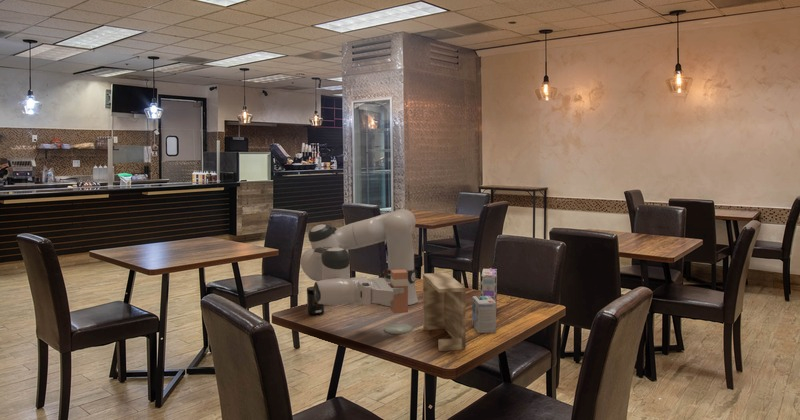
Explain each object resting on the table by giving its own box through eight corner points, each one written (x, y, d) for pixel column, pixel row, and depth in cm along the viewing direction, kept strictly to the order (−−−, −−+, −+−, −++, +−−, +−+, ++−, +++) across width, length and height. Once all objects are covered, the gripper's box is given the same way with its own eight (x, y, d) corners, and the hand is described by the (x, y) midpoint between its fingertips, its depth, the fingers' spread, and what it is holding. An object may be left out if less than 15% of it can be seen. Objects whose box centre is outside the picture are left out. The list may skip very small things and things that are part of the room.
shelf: (439, 351, 181) (438, 289, 179) (423, 329, 204) (422, 273, 202) (465, 349, 183) (465, 287, 181) (446, 327, 206) (446, 272, 204)
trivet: (378, 331, 202) (378, 329, 202) (392, 324, 211) (392, 322, 211) (403, 335, 197) (403, 333, 197) (416, 327, 206) (416, 325, 206)
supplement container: (320, 310, 230) (319, 285, 229) (327, 314, 225) (326, 288, 224) (304, 313, 227) (303, 287, 225) (311, 317, 221) (311, 291, 220)
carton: (393, 313, 195) (393, 273, 193) (390, 309, 200) (390, 270, 198) (407, 312, 196) (407, 272, 194) (404, 308, 201) (404, 269, 199)
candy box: (495, 318, 217) (496, 275, 215) (480, 317, 218) (480, 275, 217) (497, 308, 231) (497, 268, 229) (482, 307, 232) (482, 267, 230)
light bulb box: (471, 324, 210) (471, 295, 208) (489, 323, 210) (489, 295, 209) (477, 333, 199) (478, 303, 198) (496, 332, 199) (497, 302, 198)
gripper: (358, 291, 205) (395, 289, 207) (366, 306, 185) (408, 304, 188) (357, 274, 204) (395, 272, 207) (366, 287, 184) (408, 285, 187)
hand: (401, 287), depth 197 cm, fingers closed on carton, 5 cm apart
